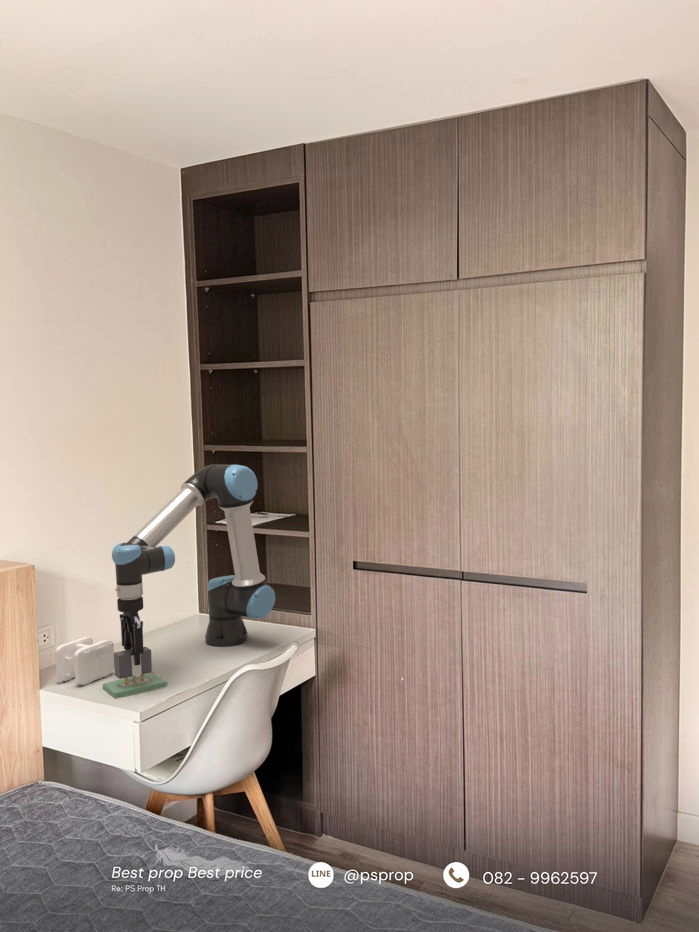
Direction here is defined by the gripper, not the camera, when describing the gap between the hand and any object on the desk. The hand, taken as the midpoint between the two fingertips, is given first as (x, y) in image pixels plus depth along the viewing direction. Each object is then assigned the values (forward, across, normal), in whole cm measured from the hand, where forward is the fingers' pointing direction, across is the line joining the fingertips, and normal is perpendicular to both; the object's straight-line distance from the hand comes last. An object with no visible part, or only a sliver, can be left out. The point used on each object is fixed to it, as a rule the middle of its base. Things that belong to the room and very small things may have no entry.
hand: (133, 672), depth 255 cm
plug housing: (0, 0, 0) cm, 0 cm away
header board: (+5, 0, 0) cm, 5 cm away
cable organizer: (+5, -18, -9) cm, 21 cm away
